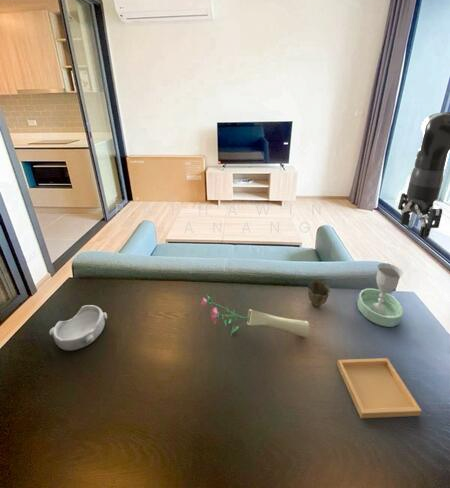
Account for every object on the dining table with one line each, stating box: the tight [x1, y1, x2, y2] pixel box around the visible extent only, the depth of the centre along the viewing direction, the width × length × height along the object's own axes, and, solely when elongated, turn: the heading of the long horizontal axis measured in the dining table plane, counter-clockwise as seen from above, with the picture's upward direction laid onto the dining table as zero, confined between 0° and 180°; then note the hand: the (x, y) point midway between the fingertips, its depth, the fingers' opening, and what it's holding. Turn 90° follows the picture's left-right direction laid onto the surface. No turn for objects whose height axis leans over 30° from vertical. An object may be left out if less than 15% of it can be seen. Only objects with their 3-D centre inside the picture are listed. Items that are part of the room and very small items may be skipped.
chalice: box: [370, 262, 404, 316], centre depth 85 cm, size 7×7×18 cm
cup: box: [307, 279, 331, 308], centre depth 90 cm, size 8×7×8 cm
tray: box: [336, 357, 423, 419], centre depth 65 cm, size 15×13×2 cm
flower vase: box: [200, 292, 311, 339], centre depth 80 cm, size 12×12×35 cm
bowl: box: [356, 287, 404, 328], centre depth 87 cm, size 13×13×4 cm
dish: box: [49, 304, 108, 351], centre depth 79 cm, size 14×14×5 cm
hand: (413, 230), depth 78 cm, fingers open, 8 cm apart
